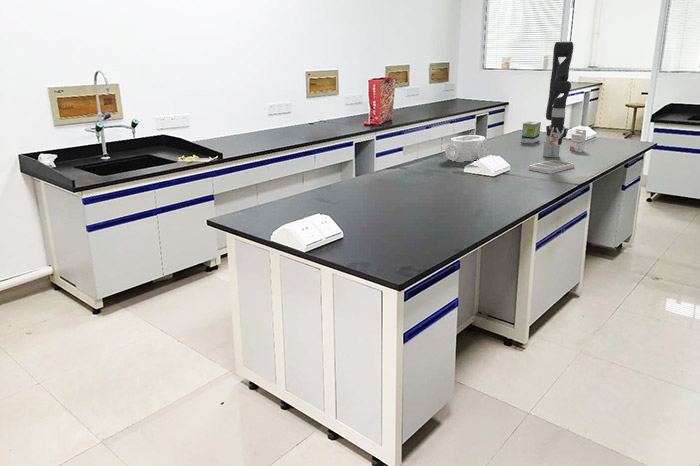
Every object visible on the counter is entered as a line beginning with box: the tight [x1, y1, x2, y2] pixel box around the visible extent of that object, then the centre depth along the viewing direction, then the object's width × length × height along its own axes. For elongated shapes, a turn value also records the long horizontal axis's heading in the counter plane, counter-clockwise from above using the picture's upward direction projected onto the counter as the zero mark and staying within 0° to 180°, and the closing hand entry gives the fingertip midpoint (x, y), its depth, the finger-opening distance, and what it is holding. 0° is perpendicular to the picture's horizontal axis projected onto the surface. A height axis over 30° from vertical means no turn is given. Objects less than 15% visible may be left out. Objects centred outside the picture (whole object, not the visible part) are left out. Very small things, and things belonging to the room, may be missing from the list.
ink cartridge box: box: [569, 128, 587, 153], centre depth 379 cm, size 9×5×15 cm, turn 34°
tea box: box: [520, 121, 542, 144], centre depth 417 cm, size 15×10×15 cm, turn 147°
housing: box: [444, 134, 491, 163], centre depth 363 cm, size 35×22×14 cm, turn 134°
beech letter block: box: [549, 136, 562, 147], centre depth 329 cm, size 5×5×5 cm
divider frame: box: [528, 159, 576, 175], centre depth 332 cm, size 15×25×2 cm, turn 127°
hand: (555, 143), depth 329 cm, fingers closed on beech letter block, 5 cm apart
